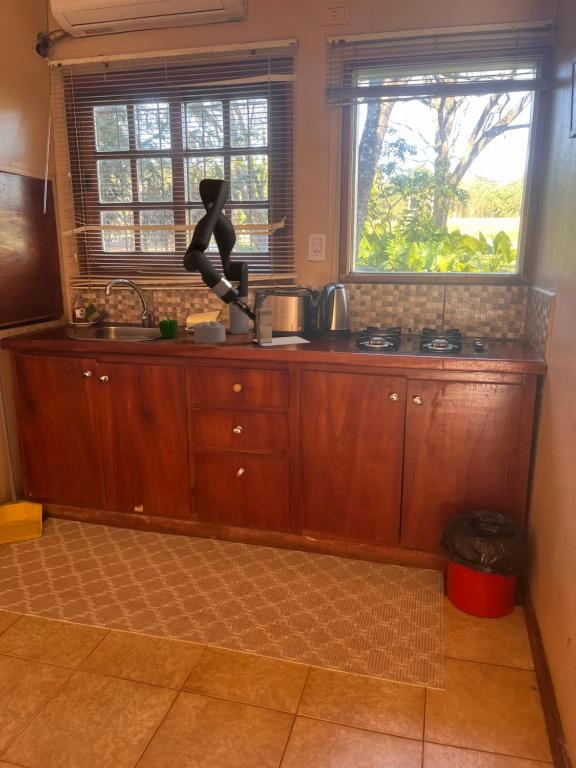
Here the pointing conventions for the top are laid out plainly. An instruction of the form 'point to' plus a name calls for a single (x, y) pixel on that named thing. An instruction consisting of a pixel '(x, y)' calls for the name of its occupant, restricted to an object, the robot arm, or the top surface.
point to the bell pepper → (168, 328)
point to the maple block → (264, 325)
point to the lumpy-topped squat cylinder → (209, 332)
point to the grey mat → (284, 341)
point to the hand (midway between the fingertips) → (254, 318)
